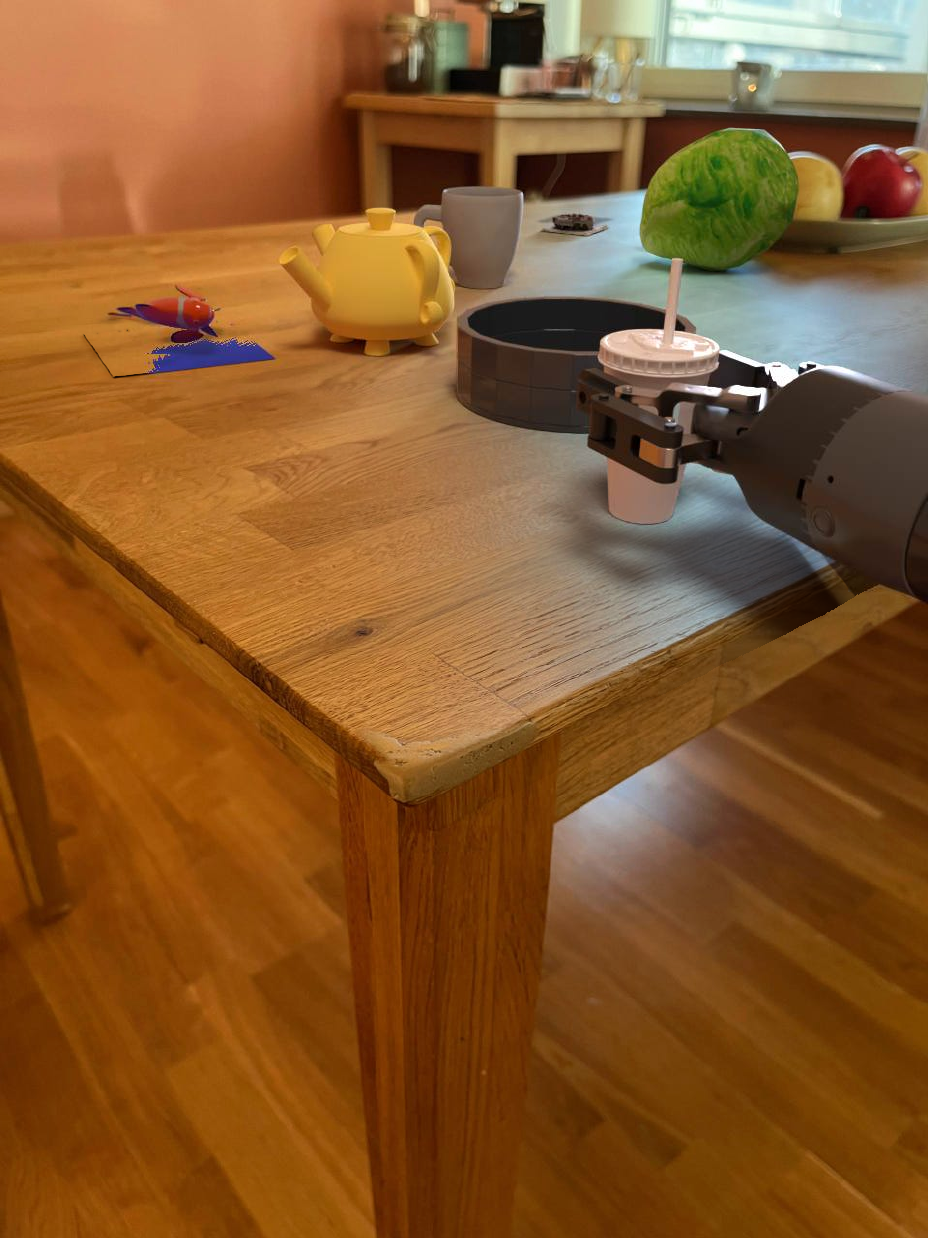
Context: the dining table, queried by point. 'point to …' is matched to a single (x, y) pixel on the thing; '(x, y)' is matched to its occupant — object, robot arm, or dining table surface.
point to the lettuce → (720, 200)
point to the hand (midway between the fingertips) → (649, 377)
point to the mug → (479, 232)
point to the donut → (574, 225)
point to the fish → (189, 333)
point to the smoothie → (651, 366)
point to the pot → (540, 355)
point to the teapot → (377, 281)
